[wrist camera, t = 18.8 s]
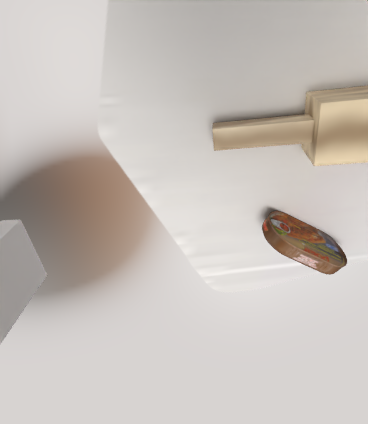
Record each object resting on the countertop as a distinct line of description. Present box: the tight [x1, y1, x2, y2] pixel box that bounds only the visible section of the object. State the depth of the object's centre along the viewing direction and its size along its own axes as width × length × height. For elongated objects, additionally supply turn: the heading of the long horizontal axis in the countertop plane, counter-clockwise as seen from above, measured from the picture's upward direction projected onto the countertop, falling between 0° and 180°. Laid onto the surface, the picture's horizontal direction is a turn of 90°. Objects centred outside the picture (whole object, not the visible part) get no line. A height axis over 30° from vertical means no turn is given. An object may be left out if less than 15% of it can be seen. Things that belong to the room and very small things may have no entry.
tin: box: [262, 211, 347, 274], centre depth 50 cm, size 15×3×8 cm, turn 64°
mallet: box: [213, 86, 368, 166], centre depth 41 cm, size 8×21×7 cm, turn 97°
